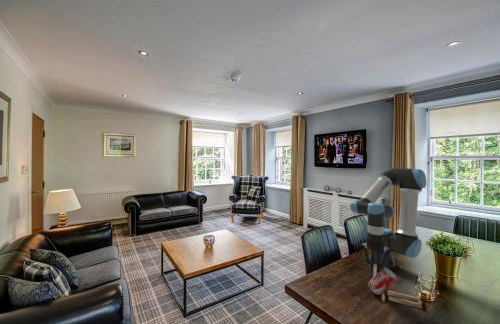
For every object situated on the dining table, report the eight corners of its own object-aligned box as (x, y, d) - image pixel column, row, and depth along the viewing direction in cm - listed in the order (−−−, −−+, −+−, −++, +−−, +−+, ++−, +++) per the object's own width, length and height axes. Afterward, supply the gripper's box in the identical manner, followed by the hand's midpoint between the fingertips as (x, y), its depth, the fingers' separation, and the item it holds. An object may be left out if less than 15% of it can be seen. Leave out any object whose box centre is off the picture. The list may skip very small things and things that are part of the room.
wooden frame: (381, 288, 120) (381, 284, 120) (418, 298, 112) (418, 293, 112) (381, 301, 109) (382, 295, 109) (422, 312, 102) (423, 306, 102)
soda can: (376, 285, 120) (391, 269, 116) (383, 298, 113) (399, 280, 109) (365, 281, 119) (380, 264, 115) (371, 293, 112) (387, 275, 108)
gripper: (361, 233, 116) (360, 278, 116) (390, 237, 109) (390, 285, 110) (361, 229, 122) (361, 271, 123) (389, 233, 116) (389, 278, 116)
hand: (374, 278), depth 116 cm, fingers closed
